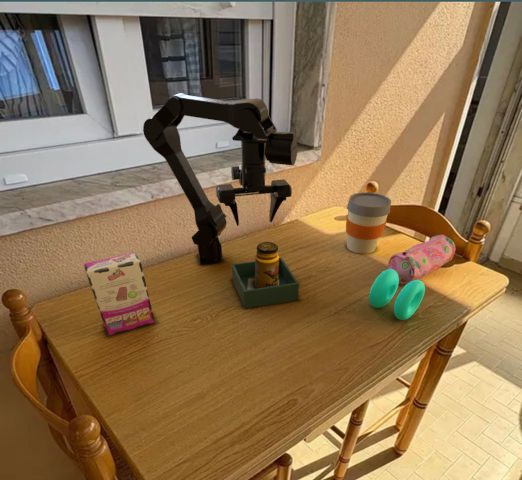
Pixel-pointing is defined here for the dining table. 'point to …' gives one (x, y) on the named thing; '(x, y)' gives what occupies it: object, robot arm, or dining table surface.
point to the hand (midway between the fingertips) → (254, 223)
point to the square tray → (265, 295)
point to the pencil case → (422, 258)
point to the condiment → (265, 266)
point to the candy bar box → (120, 292)
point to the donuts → (406, 299)
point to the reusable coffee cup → (366, 221)
